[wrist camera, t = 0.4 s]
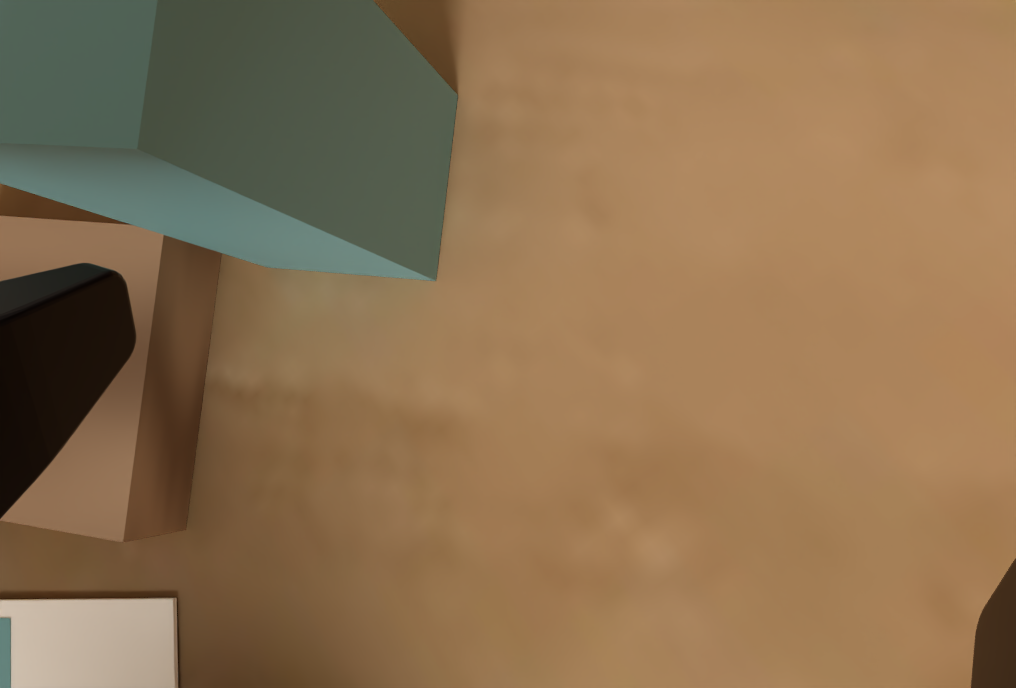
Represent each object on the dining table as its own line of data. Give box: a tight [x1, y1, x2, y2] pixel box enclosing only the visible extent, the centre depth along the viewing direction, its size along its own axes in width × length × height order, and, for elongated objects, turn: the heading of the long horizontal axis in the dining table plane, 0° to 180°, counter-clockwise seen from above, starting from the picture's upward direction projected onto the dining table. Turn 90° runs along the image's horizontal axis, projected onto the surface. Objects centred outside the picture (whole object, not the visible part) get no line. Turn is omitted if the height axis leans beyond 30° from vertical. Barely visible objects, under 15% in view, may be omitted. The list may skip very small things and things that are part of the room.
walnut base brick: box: [0, 216, 222, 542], centre depth 25 cm, size 8×8×3 cm
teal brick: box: [0, 0, 458, 281], centre depth 19 cm, size 5×5×12 cm
